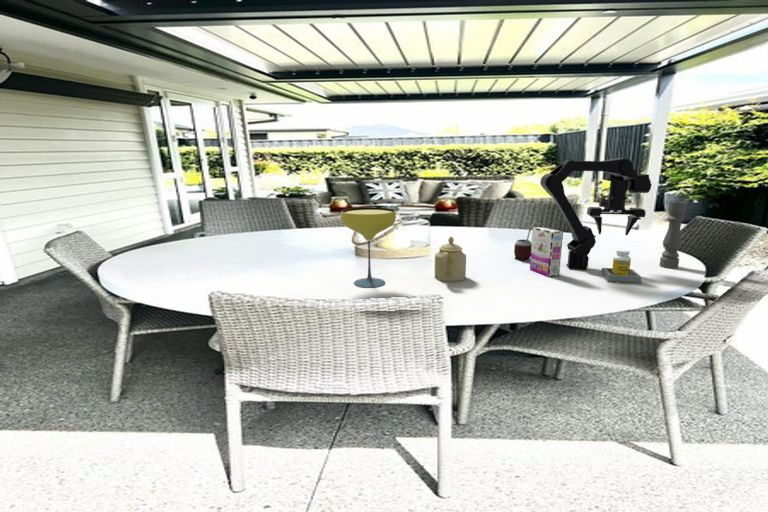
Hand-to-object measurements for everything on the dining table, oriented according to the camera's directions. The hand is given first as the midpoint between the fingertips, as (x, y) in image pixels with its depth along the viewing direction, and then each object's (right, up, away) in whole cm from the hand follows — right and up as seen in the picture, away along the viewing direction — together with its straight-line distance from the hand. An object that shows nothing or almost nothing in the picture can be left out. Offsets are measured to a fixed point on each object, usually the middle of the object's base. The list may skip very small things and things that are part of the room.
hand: (612, 234), depth 166 cm
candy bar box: (-27, -14, -3) cm, 31 cm away
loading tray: (-3, -16, -11) cm, 20 cm away
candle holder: (+24, -12, +5) cm, 27 cm away
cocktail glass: (-91, -18, -15) cm, 94 cm away
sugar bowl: (-63, -16, -10) cm, 65 cm away
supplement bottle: (-3, -16, -11) cm, 20 cm away
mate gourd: (-28, -10, +17) cm, 35 cm away
